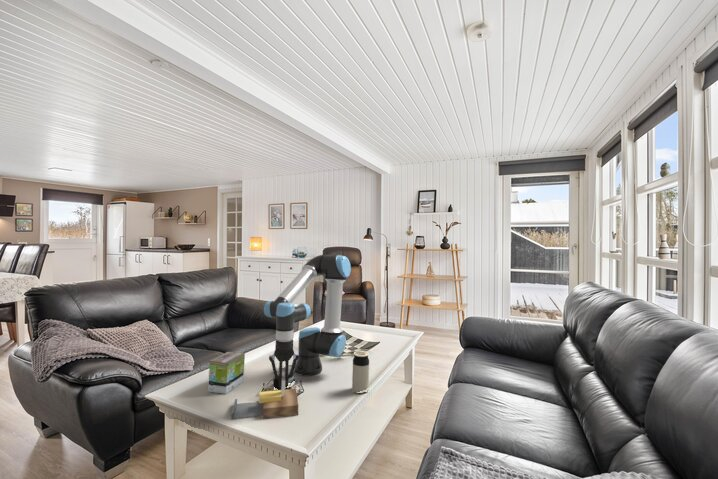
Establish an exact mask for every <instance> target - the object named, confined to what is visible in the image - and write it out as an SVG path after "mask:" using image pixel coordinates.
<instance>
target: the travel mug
mask: <svg viewBox="0 0 718 479" xmlns="http://www.w3.org/2000/svg"><path fill="white" fill-rule="evenodd" d="M369 355H370V353H369V352H368V351H365V350H357V351H354V352H353V356H354V357H353V358H352V378H351V380H352V383H351V384H352V385H351V387H352V388H351V390H353V391H355V392H360V391H363V390H366V389H367V388H368V387H369V386H370V385H369V383H370V382H369V381H370V359H369ZM369 388H370V387H369ZM353 391H352V392H353ZM355 392H354V393H355Z"/></svg>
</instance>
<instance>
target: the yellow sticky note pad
mask: <svg viewBox="0 0 718 479" xmlns="http://www.w3.org/2000/svg"><path fill="white" fill-rule="evenodd" d="M266 391H267V392H264V391H259V399H258V400H259V401H258V402H259V403H267V402H277V401H281V398H282V396H281V390H277V391H272V390H266Z"/></svg>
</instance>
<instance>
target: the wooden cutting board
mask: <svg viewBox="0 0 718 479" xmlns="http://www.w3.org/2000/svg"><path fill="white" fill-rule="evenodd" d="M267 391H268V390H265V391H263V392H267ZM271 391H277V390H273V389H272V390H271ZM293 416H299V401H298V393H297V388H287V389H285V396H282V398H281V401H277V402H267V403H263V416H262V419H263V420H264V419H272V418H281V417H293Z"/></svg>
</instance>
